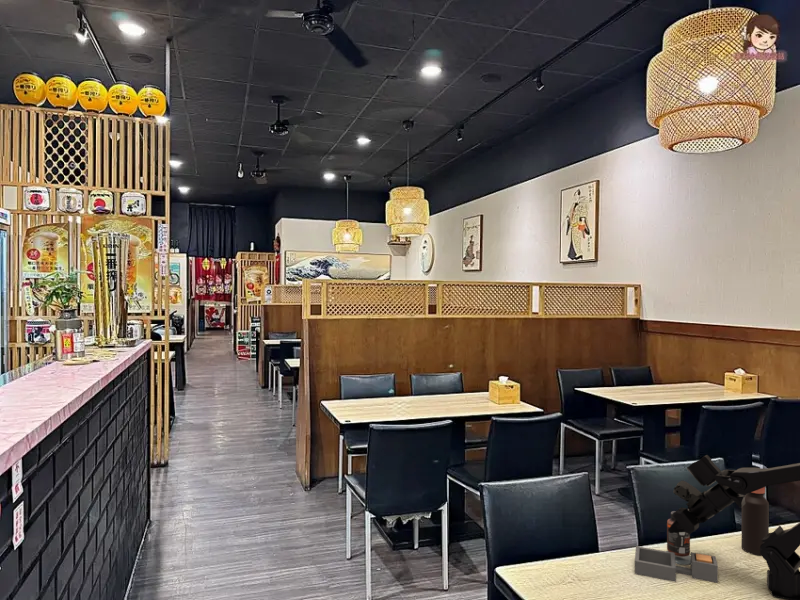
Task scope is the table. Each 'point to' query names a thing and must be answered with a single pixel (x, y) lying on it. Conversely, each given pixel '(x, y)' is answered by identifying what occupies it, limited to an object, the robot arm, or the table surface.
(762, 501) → the vinegar
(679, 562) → the coaster
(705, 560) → the orange-brown cube
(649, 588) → the table surface
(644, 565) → the holder
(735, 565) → the table surface
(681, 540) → the supplement bottle
